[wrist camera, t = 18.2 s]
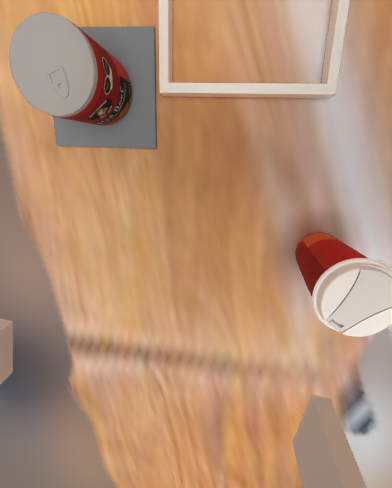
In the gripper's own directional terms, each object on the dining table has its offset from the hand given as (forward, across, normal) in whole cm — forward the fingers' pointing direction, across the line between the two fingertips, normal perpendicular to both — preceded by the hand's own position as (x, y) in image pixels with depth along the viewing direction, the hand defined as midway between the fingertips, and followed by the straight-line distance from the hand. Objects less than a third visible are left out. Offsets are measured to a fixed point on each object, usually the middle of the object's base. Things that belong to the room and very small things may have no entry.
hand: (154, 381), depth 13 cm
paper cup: (+29, +15, 0) cm, 33 cm away
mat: (+28, -16, +14) cm, 35 cm away
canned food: (+28, -16, +14) cm, 35 cm away
